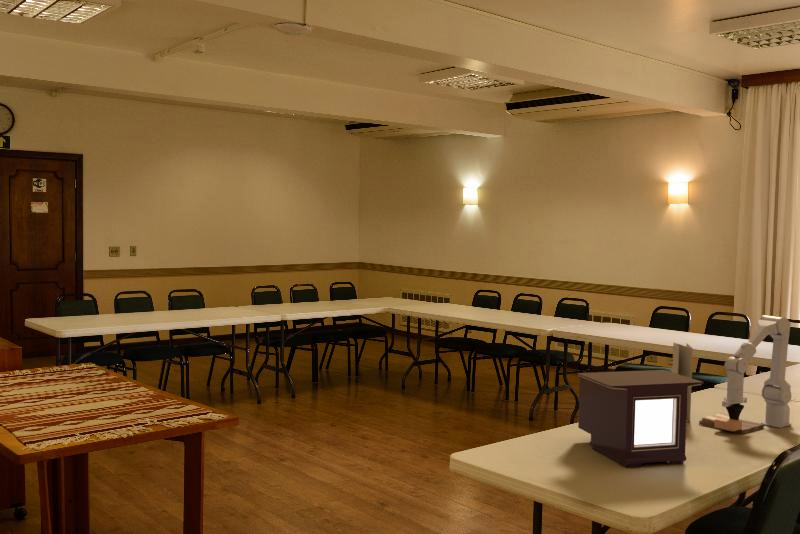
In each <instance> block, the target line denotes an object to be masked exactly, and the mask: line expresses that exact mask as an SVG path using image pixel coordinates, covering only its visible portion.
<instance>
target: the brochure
mask: <svg viewBox="0 0 800 534" xmlns="http://www.w3.org/2000/svg"><path fill="white" fill-rule="evenodd" d="M672 350H673V352H672V371H671V372H673V373H676V374H679V375H682V376H686V377H689V378H692V377H693V356H694V353H693V352H694V348H693V347H692V346H691V345H690V344H689V343H688V342H686V345H683V344H680V343H677V342H673V346H672ZM692 379H693V378H692ZM691 406H692V386H691V387H688V389H687V417H686V420H687V421H686V422H688V421H689V422H688V423H690V422H691V412H692V411H691V410H692V409H691Z"/></svg>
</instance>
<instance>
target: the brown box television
mask: <svg viewBox="0 0 800 534" xmlns="http://www.w3.org/2000/svg"><path fill="white" fill-rule="evenodd" d="M576 375H577V376H578V377H579V385H578V387H579V389H578V390H579V391H578V422H577V424H578V426H577V427H578V429H580V430H581V431H584V432H586V433H588V434H589V435H590V441H589V445H590V447H591V450H593V449H594V450H593V451H595V452H597V453H599V454H601V455H602V456H604V457H606V458H607V459H609V460H611V461H614V462H615V463H617V464H619V466H620V465H621V466H622V467H624V468H626V469H632V468H633V469H634V468H635V469H636V468H642V464H649V463H664V464H667V465H668V466H673V465H684V462H685V461H687V456H686V446H687V445H686V443H687V442H686V440H687V439H686V438H687V421H686V417H687V389H688V387H691V388H692V387H695V386H696V387H697V386H701V385H703V384H704V383H705V382H704V381H701V380H698V379H695V378H689V377H686V376H682V375H679V374H676V373H673V372H672V371H669V370H666V369H656V370H653V369H651V370H627V371H625V370H624V371H601V372H600V371H597V372H577V373H576Z"/></svg>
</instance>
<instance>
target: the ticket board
mask: <svg viewBox="0 0 800 534" xmlns="http://www.w3.org/2000/svg"><path fill="white" fill-rule="evenodd" d="M722 417H724V418H729V414H727V413H723V412H720V413H715V414H712V415H707V416H704V417H702V418H701V419H700V420H699V421H698V424H699V425H700V424H701V426H704V425H705V427H708V426H709V428H713V427H714V422H715V419H718V418H722ZM729 419H730V418H729ZM738 421H742V429H740V430H737V431H730V430H725V429H721V428H717V427H714V428H713V429H717V430H718V429H719V430H722V431H725V432H730V433H735V434H740V435H746V434H748V433H752V432H755V431H758V430H762V429H764V427H765V425H764V424H761V423H759V422H754V421H750V420H746V419H745V420H744V419H740V418H739V419H738Z"/></svg>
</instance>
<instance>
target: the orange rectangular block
mask: <svg viewBox="0 0 800 534" xmlns="http://www.w3.org/2000/svg"><path fill="white" fill-rule="evenodd" d="M714 427H717V428H721V429H725V430H724V431H726V430H730V431H737V430H740V429H742V421H738V420H734V419H729V418H724V417H722V418H718V419H715V422H714ZM717 428H716V429H717ZM721 429H720V430H721ZM730 431H729V432H730Z"/></svg>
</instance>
